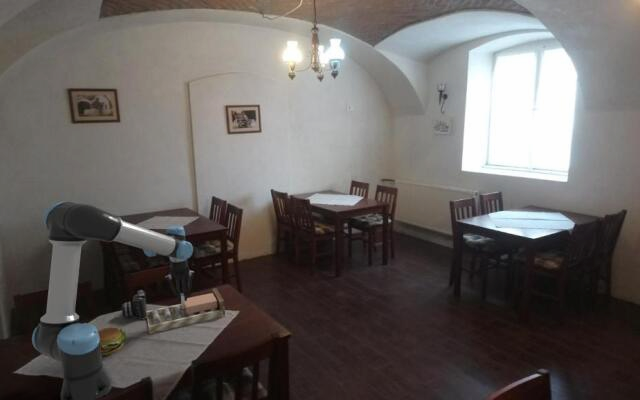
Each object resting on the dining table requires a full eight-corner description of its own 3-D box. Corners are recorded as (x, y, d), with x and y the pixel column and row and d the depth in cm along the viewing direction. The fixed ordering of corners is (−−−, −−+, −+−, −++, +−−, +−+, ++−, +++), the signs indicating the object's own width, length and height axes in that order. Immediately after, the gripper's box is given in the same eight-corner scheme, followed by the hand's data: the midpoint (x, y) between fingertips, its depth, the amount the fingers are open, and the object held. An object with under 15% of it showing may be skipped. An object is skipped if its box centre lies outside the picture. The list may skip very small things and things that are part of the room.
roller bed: (149, 333, 179) (147, 317, 178) (147, 317, 194) (145, 302, 193) (225, 315, 193) (223, 300, 192) (217, 302, 208) (216, 288, 206)
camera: (123, 310, 202) (120, 291, 200) (147, 305, 207) (145, 287, 205) (123, 323, 190) (120, 303, 188) (148, 317, 194) (146, 298, 192)
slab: (186, 314, 188) (186, 307, 188) (183, 305, 197) (183, 299, 197) (217, 307, 194) (217, 300, 194) (213, 299, 203) (212, 292, 203)
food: (91, 363, 159) (88, 344, 157) (87, 346, 170) (84, 329, 169) (129, 351, 166) (127, 333, 165) (123, 336, 178) (121, 319, 176)
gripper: (164, 264, 182) (169, 314, 186) (194, 259, 187) (199, 307, 192) (162, 259, 188) (167, 307, 193) (191, 254, 194) (196, 301, 198)
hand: (183, 307), depth 192 cm, fingers closed
